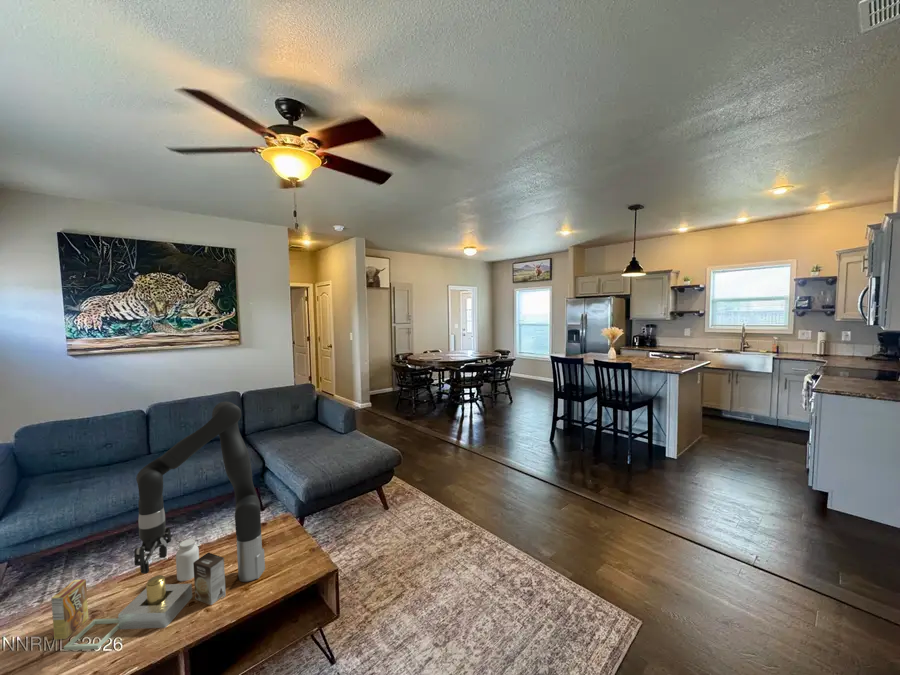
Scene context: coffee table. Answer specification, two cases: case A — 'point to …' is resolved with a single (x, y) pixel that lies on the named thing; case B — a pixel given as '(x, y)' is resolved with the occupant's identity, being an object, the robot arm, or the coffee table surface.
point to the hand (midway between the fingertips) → (154, 564)
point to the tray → (96, 621)
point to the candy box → (69, 609)
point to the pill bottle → (186, 559)
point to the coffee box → (209, 578)
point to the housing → (155, 608)
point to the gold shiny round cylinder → (156, 590)
